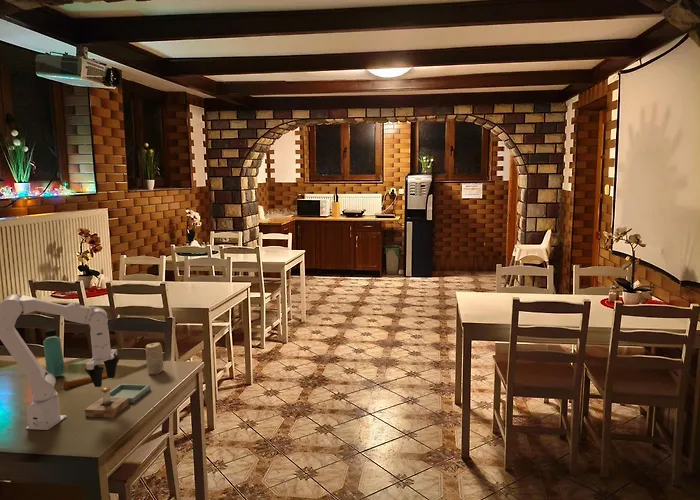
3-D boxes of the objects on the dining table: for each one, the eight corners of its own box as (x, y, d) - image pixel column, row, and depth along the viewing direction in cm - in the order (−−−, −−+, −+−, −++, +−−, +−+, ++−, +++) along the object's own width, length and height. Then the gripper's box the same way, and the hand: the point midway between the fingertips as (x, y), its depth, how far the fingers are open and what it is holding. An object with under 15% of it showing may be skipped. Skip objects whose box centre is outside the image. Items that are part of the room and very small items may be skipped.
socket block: (112, 417, 180) (111, 410, 180) (85, 416, 182) (84, 409, 181) (129, 404, 190) (128, 397, 190) (103, 403, 191) (102, 397, 191)
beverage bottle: (64, 378, 216) (59, 330, 213) (45, 381, 214) (39, 333, 211) (66, 373, 222) (61, 326, 219) (48, 375, 220) (42, 328, 217)
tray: (133, 403, 191) (132, 398, 190) (102, 402, 193) (101, 397, 192) (150, 389, 202) (150, 384, 202) (121, 388, 204) (120, 383, 204)
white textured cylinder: (145, 376, 216) (142, 347, 214) (150, 369, 224) (147, 341, 222) (161, 375, 217) (158, 346, 215) (166, 368, 224) (163, 340, 222)
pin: (109, 412, 184) (106, 390, 183) (101, 412, 185) (98, 390, 183) (114, 408, 187) (112, 386, 186) (106, 408, 188) (104, 386, 186)
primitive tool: (110, 373, 222) (109, 365, 221) (117, 376, 218) (116, 368, 218) (62, 389, 207) (61, 380, 207) (68, 392, 204) (67, 383, 203)
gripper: (98, 351, 175) (102, 391, 177) (123, 337, 189) (127, 374, 191) (78, 351, 176) (83, 390, 178) (105, 337, 190) (109, 373, 192)
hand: (104, 382), depth 184 cm, fingers open, 7 cm apart
